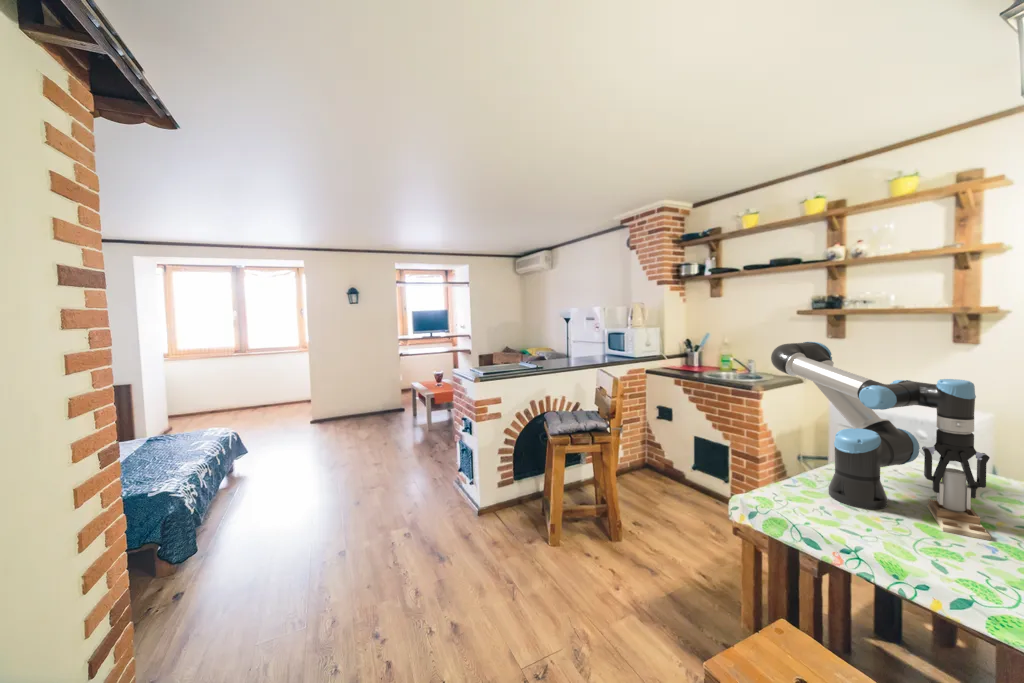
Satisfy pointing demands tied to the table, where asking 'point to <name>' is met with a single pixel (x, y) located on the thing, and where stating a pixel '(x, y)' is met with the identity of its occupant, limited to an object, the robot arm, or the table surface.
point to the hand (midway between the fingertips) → (953, 504)
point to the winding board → (958, 521)
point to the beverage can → (954, 490)
